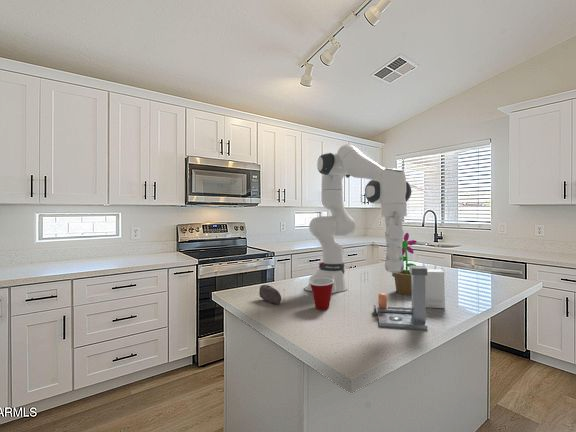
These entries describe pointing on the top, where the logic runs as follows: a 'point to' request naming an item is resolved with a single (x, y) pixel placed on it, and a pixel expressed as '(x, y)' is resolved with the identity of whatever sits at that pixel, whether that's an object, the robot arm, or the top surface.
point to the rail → (393, 310)
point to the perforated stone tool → (270, 294)
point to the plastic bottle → (393, 254)
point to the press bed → (418, 305)
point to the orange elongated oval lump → (382, 301)
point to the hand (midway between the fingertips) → (394, 249)
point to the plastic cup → (321, 292)
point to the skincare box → (434, 289)
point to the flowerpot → (404, 277)
